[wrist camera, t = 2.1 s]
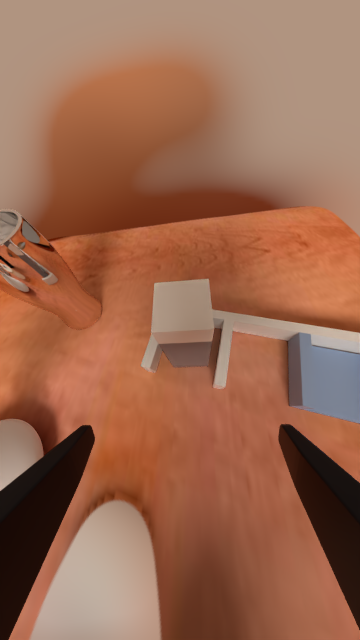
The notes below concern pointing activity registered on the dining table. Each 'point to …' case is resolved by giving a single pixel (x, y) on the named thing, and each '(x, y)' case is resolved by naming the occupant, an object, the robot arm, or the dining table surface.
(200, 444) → the dining table surface
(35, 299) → the beer glass
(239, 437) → the dining table surface
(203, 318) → the grey tall block
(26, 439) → the flower in vase
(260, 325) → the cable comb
